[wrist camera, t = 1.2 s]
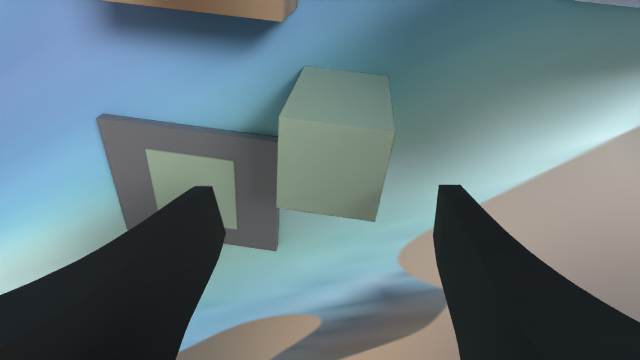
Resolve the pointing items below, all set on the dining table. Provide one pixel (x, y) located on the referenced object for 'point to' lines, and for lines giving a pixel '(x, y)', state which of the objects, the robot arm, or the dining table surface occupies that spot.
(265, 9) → the walnut slab
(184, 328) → the robot arm
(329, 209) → the sage block
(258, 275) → the dining table surface
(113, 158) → the card
